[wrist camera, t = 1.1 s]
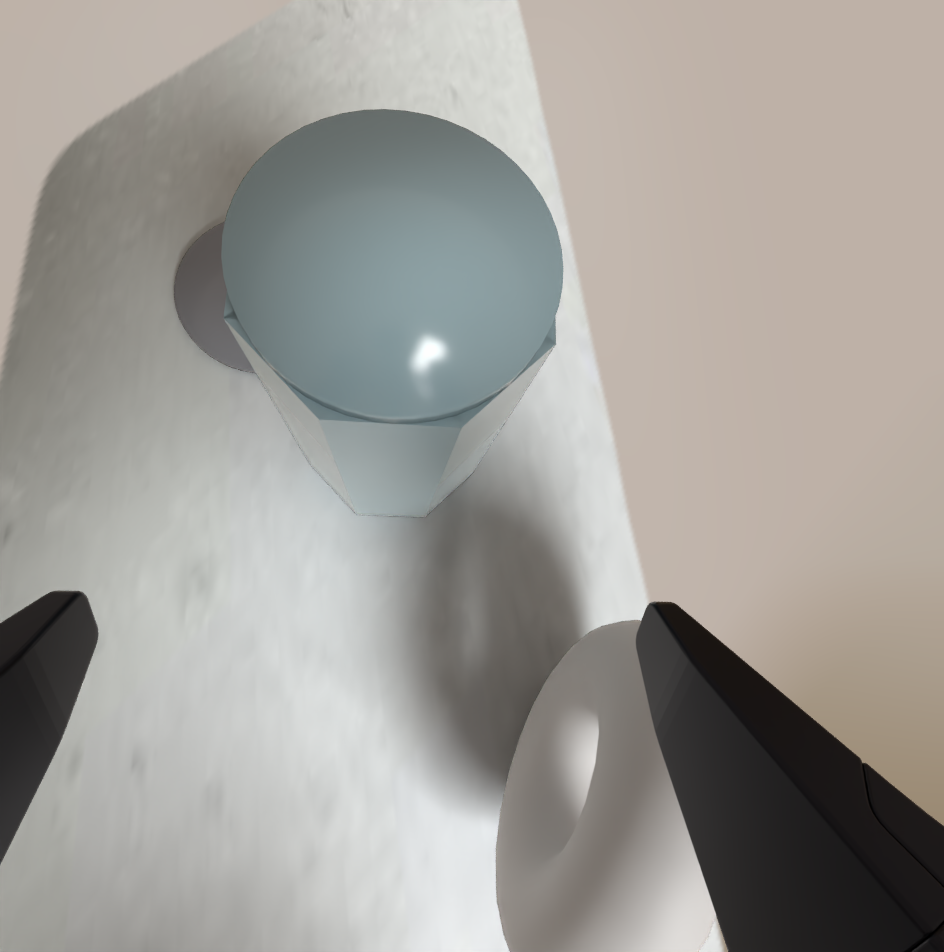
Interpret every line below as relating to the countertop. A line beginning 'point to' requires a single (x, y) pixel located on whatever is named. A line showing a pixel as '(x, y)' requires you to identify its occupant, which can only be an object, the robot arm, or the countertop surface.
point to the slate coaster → (207, 301)
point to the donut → (596, 817)
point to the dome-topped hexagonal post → (391, 298)
